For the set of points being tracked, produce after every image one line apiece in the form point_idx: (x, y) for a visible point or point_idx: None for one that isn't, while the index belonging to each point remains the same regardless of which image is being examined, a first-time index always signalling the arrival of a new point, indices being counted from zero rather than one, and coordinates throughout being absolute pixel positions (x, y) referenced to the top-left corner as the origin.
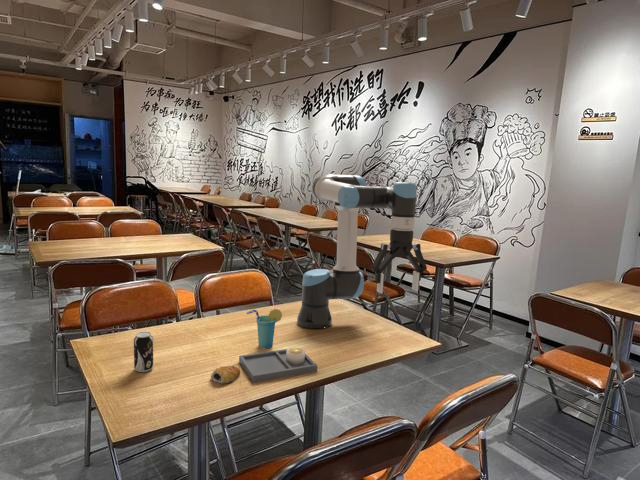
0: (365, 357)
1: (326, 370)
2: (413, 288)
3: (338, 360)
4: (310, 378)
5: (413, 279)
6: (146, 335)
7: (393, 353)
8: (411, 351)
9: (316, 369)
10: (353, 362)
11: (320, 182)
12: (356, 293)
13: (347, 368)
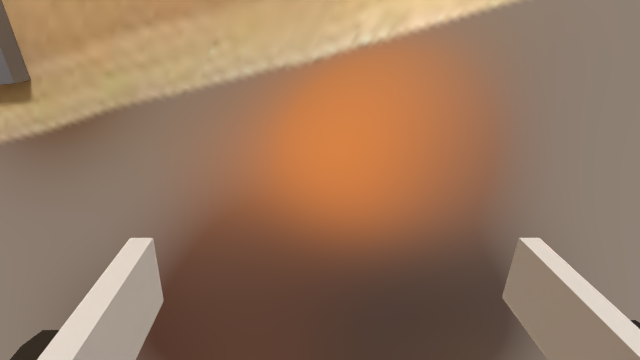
0: (248, 15)
1: (67, 80)
2: (520, 270)
3: (130, 10)
4: (2, 121)
5: (586, 323)
6: None
7: (375, 12)
8: (455, 16)
9: (22, 81)
10: (185, 45)
11: None
12: None
13: (147, 86)
